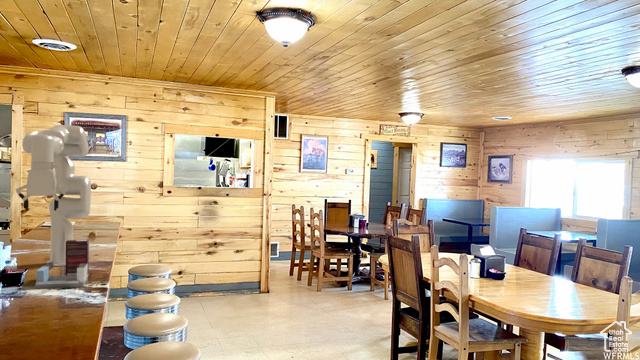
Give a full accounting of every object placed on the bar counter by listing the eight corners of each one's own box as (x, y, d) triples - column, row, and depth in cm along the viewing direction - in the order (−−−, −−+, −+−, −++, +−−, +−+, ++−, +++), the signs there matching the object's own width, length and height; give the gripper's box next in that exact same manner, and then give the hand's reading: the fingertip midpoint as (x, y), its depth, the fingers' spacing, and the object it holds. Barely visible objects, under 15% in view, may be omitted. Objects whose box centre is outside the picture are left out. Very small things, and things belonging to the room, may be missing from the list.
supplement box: (88, 275, 208) (89, 239, 208) (87, 277, 204) (88, 240, 203) (66, 275, 206) (67, 239, 205) (64, 278, 201) (65, 241, 200)
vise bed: (41, 282, 194) (42, 263, 193) (87, 280, 199) (88, 262, 198) (34, 288, 184) (35, 269, 184) (83, 286, 189) (83, 268, 189)
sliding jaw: (47, 274, 201) (47, 262, 201) (53, 273, 202) (54, 262, 201) (36, 283, 185) (36, 270, 185) (43, 283, 186) (43, 270, 186)
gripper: (67, 167, 194) (66, 209, 194) (17, 166, 186) (16, 209, 186) (66, 167, 187) (65, 211, 187) (14, 166, 179) (14, 211, 180)
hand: (41, 210), depth 187 cm, fingers open, 9 cm apart
